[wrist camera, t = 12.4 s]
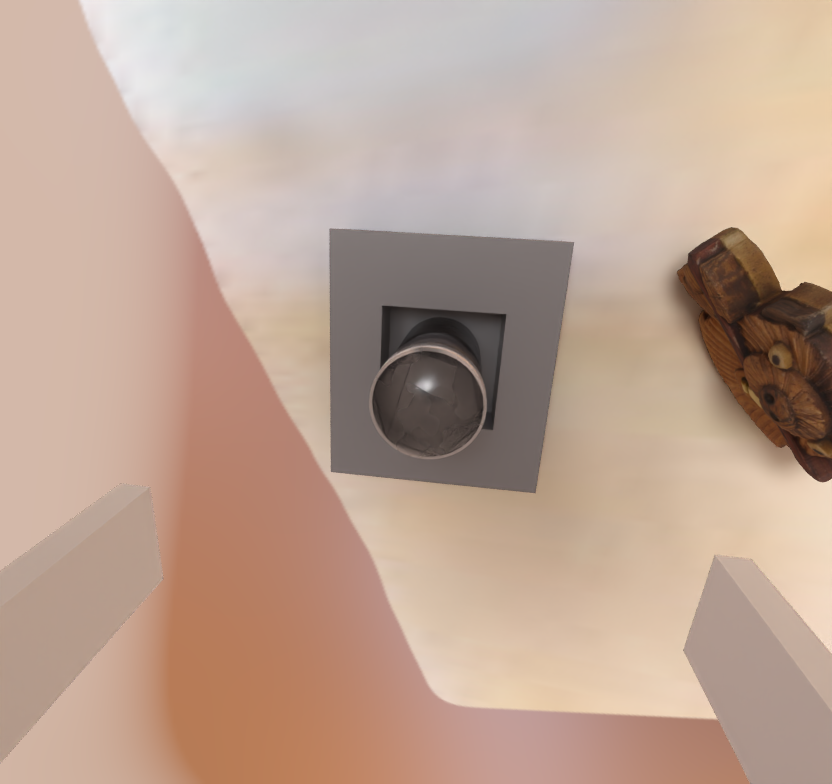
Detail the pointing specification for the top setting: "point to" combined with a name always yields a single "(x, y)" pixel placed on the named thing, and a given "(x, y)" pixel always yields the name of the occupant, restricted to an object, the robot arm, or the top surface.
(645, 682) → the top surface
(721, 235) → the wooden carving
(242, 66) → the top surface
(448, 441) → the lens
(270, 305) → the top surface
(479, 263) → the grey recessed frame block
